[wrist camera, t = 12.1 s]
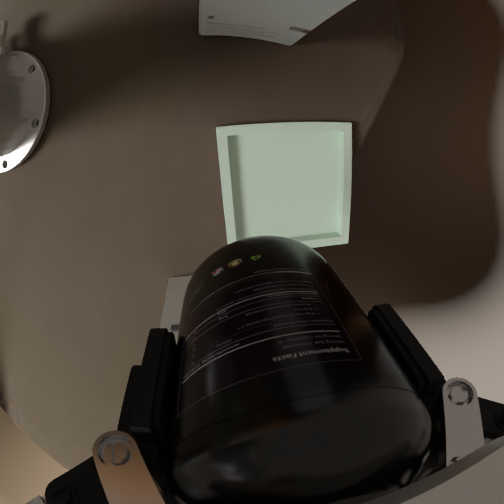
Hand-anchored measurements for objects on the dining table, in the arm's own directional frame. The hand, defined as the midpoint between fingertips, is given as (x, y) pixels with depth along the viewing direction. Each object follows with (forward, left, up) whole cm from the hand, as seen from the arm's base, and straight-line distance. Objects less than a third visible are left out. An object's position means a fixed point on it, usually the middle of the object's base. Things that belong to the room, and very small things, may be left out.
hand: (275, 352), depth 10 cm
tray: (-1, +5, -18) cm, 19 cm away
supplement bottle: (0, 0, -4) cm, 4 cm away
